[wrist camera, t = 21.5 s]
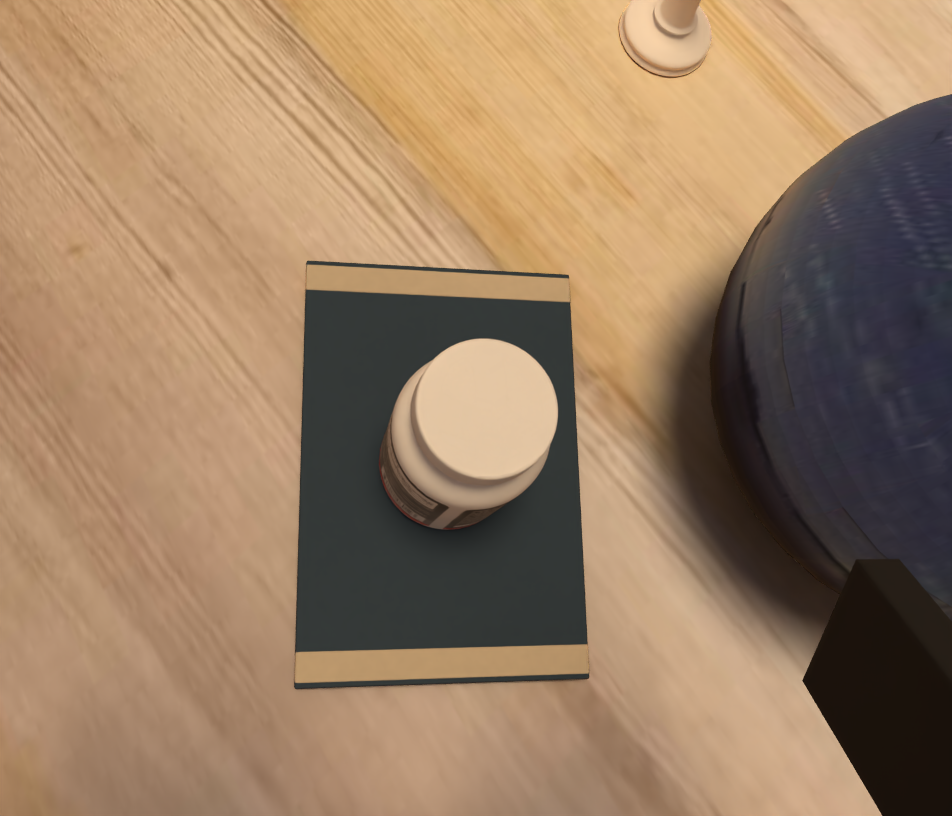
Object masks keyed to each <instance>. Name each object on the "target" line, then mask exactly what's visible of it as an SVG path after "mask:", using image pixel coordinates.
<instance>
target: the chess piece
mask: <svg viewBox="0 0 952 816" xmlns="http://www.w3.org/2000/svg"><path fill="white" fill-rule="evenodd" d="M700 1H701V0H631V1H630V3H629V4H628V5H627V7H626V8H625V9H624V11H623V13H622V15H621V18H620V22H619V33H620V38H621V41H622V44H623V46H624V48H625V50H626V51H627V53H628V54H629V55H630V57H631V58H632V59H633V60H634V61H635V62H636V63H637V64H639V65H640V66H641V67H643V68H644V69H646V70H648V71H650V72H652V73H655V74H658V75H662V76H669V77H675V76H682V75H686V74H688V73H690V72H692V71H694V70H695V69H697V68H698V67H699V66H700V65H701V64H702V62H703V61H704V59H705V57H706V54H707V52H708V50H709V48H710V45H711V39H712V32H711V26H710V23H709V20H708V18H707V16H706V14H705V13H704V11H703V10H702V8H701V7H700V6H699V3H700Z"/></svg>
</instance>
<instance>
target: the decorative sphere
mask: <svg viewBox="0 0 952 816" xmlns="http://www.w3.org/2000/svg"><path fill="white" fill-rule="evenodd" d="M710 380H711V402H712V407H713V412H714V417H715V422H716V426H717V431H718V436H719V441H720V443H721V446H722V449H723V451H724V454H725V456H726V459H727V462H728V464H729V467H730V469H731V472H732V475H733V477H734V479H735V481H736V483H737V485H738V486H739V488H740V490H741V492H742V493H743V495H744V497H745V498H746V500H747V502H748V504H749V505H750V507H751V509H752V511H753V512H754V514H755V515H756V516H757V518H758V519H759V520H760V521H761V523H762V524H763V525H764V526H765V528H766V529H767V530H768V531H769V532H770V534H771V535H772V536H773V537H774V539H775V540H776V541H777V542H778V544H779V545H780V546H781V547H782V548H783V549H784V550H785V551H786V552H787V553H788V554H789V555H790V556H792V557H793V558H794V559H795V560H796V561H797V562H798V563H799V564H801V565H802V566H803V567H804V568H805V569H806V570H807V571H808V572H810V573H811V574H812V575H813V576H814V577H815V578H816V579H817V580H819V581H820V582H822V583H823V584H825V585H826V586H828V587H830V588H831V589H833V590H834V591H836V592H838V593H839V594H841V592H842V590H843V588H844V585H845V583H846V581H847V579H848V576H849V574H850V572H851V570H852V567H853V565H854V563H855V560H856V559H900V561H901V562H902V563H903V564H904V565H905V566H906V568H907V569H908V570H909V571H910V572H911V574H912V575H913V576H914V577H915V578H916V579H917V581H918V582H919V583H920V584H921V585H922V587H923V588H924V589H925V590H926V591H927V593H928V594H929V595H930V596H931V597H932V598H933V600H934V601H935V602H936V603H937V604H938V606H939V607H940V608H941V609H942V610H943V612H944V613H945V614H946V615H947V616H948V617H949V619H950V620H951V621H952V94H951V95H947V96H943V97H939V98H935V99H932V100H929V101H926V102H923V103H920V104H917V105H914V106H912V107H910V108H908V109H906V110H903V111H901V112H899V113H897V114H895V115H893V116H891V117H889V118H887V119H885V120H883V121H881V122H879V123H876V124H874V125H872V126H870V127H868V128H866V129H864V130H862V131H860V132H859V133H857V134H855V135H854V136H852V137H850V138H849V139H847V140H845V141H844V142H843V143H842V144H840V145H839V146H838V147H836V148H835V149H834V150H833V151H831V152H830V153H829V154H827V155H826V156H825V157H824V158H822V159H821V160H820V161H818V162H817V163H816V164H815V165H813V166H812V167H811V168H809V169H808V170H807V171H806V172H804V173H803V174H802V175H801V176H800V177H799V178H797V179H796V180H795V181H794V182H793V183H792V184H791V185H790V186H789V188H788V189H787V190H786V191H785V192H784V194H783V195H782V196H781V197H780V198H779V199H778V201H777V202H776V203H775V204H774V205H773V206H772V208H771V209H770V210H769V211H768V212H767V214H766V215H765V216H764V217H763V218H762V220H761V221H760V222H759V224H758V225H757V226H756V228H755V229H754V231H753V233H752V235H751V237H750V238H749V240H748V242H747V244H746V246H745V247H744V249H743V251H742V253H741V255H740V256H739V258H738V260H737V262H736V264H735V265H734V267H733V269H732V271H731V273H730V276H729V279H728V282H727V285H726V288H725V291H724V294H723V297H722V300H721V303H720V306H719V309H718V313H717V316H716V320H715V327H714V334H713V342H712V349H711V357H710Z"/></svg>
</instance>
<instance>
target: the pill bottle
mask: <svg viewBox="0 0 952 816" xmlns="http://www.w3.org/2000/svg"><path fill="white" fill-rule="evenodd" d="M557 421H558V403H557V398H556V394H555V391H554V388H553V385H552V383H551V380H550V378H549V377H548V375H547V374H546V372H545V370H544V369H543V368H542V366H541V365H540V364H539V363H538V362H537V361H536V360H535V359H534V358H533V357H532V356H530V355H529V354H528V353H527V352H525V351H523V350H522V349H520V348H518V347H517V346H515V345H512V344H510V343H507V342H504V341H500V340H494V339H472V340H467V341H463V342H460V343H457V344H455V345H453V346H451V347H449V348H447V349H446V350H444V351H443V352H441V353H440V354H439V355H438V356H437V357H435V358H434V359H433V360H432V361H430V362H429V363H427V364H425V365H424V366H423V367H421V368H420V369H419V370H418V371H416V372H415V373H414V375H413V376H412V377H411V378H410V379H409V380H408V381H407V383H406V384H405V385H404V387H403V389H402V390H401V392H400V394H399V396H398V398H397V400H396V403H395V406H394V409H393V412H392V415H391V418H390V421H389V424H388V427H387V430H386V432H385V435H384V438H383V441H382V444H381V449H380V457H379V467H380V474H381V479H382V482H383V485H384V488H385V490H386V492H387V494H388V496H389V497H390V499H391V501H392V502H393V503H394V505H395V506H396V507H397V508H398V509H399V510H400V511H401V512H402V513H403V514H405V515H406V516H407V517H409V518H410V519H412V520H413V521H415V522H417V523H419V524H422V525H424V526H427V527H431V528H435V529H444V530H450V529H460V528H464V527H468V526H471V525H473V524H476V523H478V522H480V521H482V520H483V519H485V518H486V517H488V516H489V515H491V514H492V513H494V512H495V511H497V510H498V509H500V508H501V507H503V506H504V505H506V504H507V503H509V502H510V501H512V500H513V499H515V498H516V497H517V496H519V495H520V494H521V493H523V492H524V491H525V490H526V489H527V488H528V487H529V486H530V485H531V484H532V482H533V481H534V480H535V479H536V478H537V476H538V475H539V473H540V471H541V470H542V468H543V466H544V464H545V461H546V459H547V456H548V452H549V448H550V444H551V442H552V439H553V437H554V434H555V431H556V427H557Z"/></svg>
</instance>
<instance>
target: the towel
mask: <svg viewBox="0 0 952 816" xmlns="http://www.w3.org/2000/svg"><path fill="white" fill-rule="evenodd" d="M472 339H494V340H500V341H504V342H507V343H510V344H512V345H515V346H517V347H518V348H520V349H522V350H523V351H525V352H527V353H528V354H529V355H530V356H532V357H533V358H534V359H535V360H536V361H537V362H538V363H539V364H540V365H541V366H542V368H543V369H544V370H545V372H546V374H547V375H548V377H549V378H550V380H551V383H552V385H553V388H554V391H555V394H556V398H557V403H558V421H557V427H556V431H555V434H554V437H553V439H552V442H551V444H550V448H549V452H548V456H547V459H546V461H545V464H544V466H543V468H542V470H541V471H540V473H539V475H538V476H537V478H536V479H535V480H534V481H533V482H532V484H531V485H530V486H529V487H528V488H527V489H526V490H525V491H524V492H523V493H521V494H520V495H519V496H517V497H516V498H515V499H513V500H512V501H510V502H509V503H507V504H506V505H504V506H503V507H501V508H500V509H498V510H497V511H495V512H494V513H492V514H491V515H489V516H488V517H486V518H485V519H483V520H482V521H480V522H478V523H476V524H473V525H471V526H468V527H464V528H460V529H450V530H444V529H435V528H431V527H427V526H424V525H422V524H419V523H417V522H415V521H413V520H412V519H410V518H409V517H407V516H406V515H405V514H403V513H402V512H401V511H400V510H399V509H398V508H397V507H396V506H395V505H394V503H393V502H392V501H391V499H390V497H389V496H388V494H387V492H386V490H385V488H384V485H383V482H382V479H381V474H380V467H379V457H380V449H381V444H382V441H383V438H384V435H385V432H386V430H387V427H388V424H389V421H390V418H391V415H392V412H393V409H394V406H395V403H396V400H397V398H398V396H399V394H400V392H401V390H402V389H403V387H404V385H405V384H406V383H407V381H408V380H409V379H410V378H411V377H412V376H413V375H414V373H415V372H416V371H418V370H419V369H420V368H421V367H423V366H424V365H425V364H427V363H429V362H430V361H432V360H433V359H434V358H435V357H437V356H438V355H439V354H440V353H441V352H443V351H444V350H446V349H447V348H449V347H451V346H453V345H455V344H457V343H460V342H463V341H467V340H472ZM588 678H589V658H588V644H587V624H586V604H585V585H584V565H583V546H582V526H581V506H580V487H579V467H578V447H577V428H576V408H575V388H574V369H573V349H572V329H571V310H570V284H569V276H568V275H561V274H542V273H524V272H505V271H487V270H469V269H450V268H432V267H413V266H395V265H377V264H358V263H340V262H322V261H307V263H306V298H305V333H304V367H303V402H302V437H301V472H300V506H299V541H298V576H297V611H296V645H295V680H294V687H295V689H305V688H335V687H364V686H393V685H422V684H452V683H481V682H510V681H539V680H568V679H588Z"/></svg>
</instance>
